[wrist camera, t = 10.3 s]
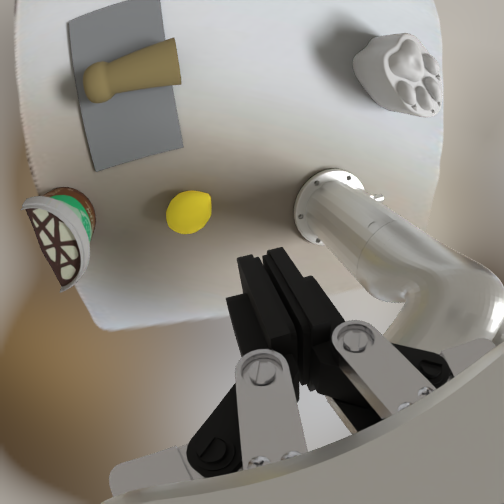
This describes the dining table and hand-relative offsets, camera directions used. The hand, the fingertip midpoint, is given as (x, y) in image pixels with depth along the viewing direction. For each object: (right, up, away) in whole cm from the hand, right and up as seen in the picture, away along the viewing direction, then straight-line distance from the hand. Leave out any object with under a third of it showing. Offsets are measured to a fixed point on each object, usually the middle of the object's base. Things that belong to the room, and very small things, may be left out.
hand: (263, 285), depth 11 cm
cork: (-9, +23, +15) cm, 29 cm away
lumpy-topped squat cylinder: (+21, +29, +24) cm, 43 cm away
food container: (-24, +7, +24) cm, 35 cm away
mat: (-16, +22, +17) cm, 32 cm away
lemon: (-9, +8, +28) cm, 30 cm away
